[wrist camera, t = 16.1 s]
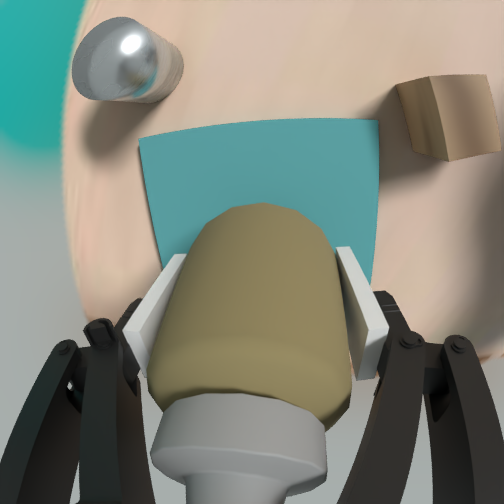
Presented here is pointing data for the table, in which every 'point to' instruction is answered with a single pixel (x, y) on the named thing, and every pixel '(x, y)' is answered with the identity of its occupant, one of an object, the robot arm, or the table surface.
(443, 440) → the robot arm
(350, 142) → the teal mat
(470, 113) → the walnut block
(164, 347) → the squeeze bottle
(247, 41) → the table surface
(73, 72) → the grey metal tin
